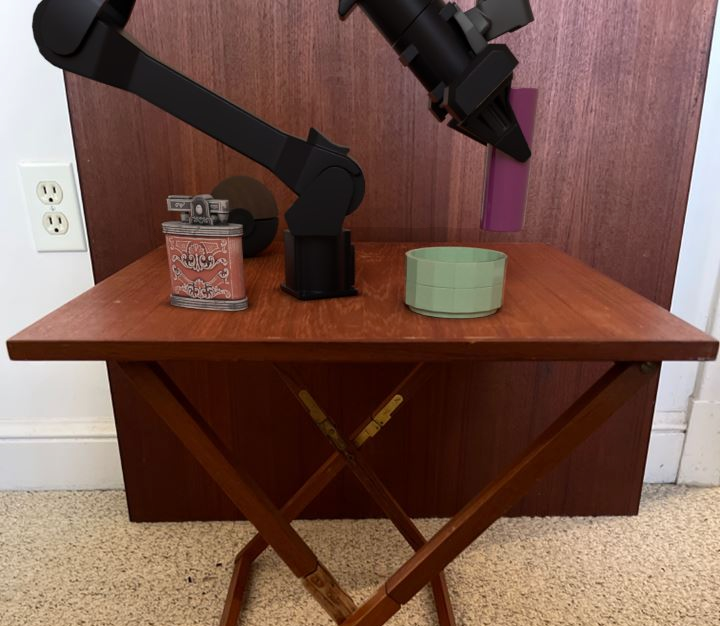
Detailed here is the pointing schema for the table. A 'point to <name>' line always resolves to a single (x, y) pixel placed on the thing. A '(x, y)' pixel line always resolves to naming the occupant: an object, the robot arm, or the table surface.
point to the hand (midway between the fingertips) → (522, 158)
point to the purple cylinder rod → (509, 171)
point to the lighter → (205, 255)
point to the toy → (250, 211)
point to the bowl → (454, 281)
